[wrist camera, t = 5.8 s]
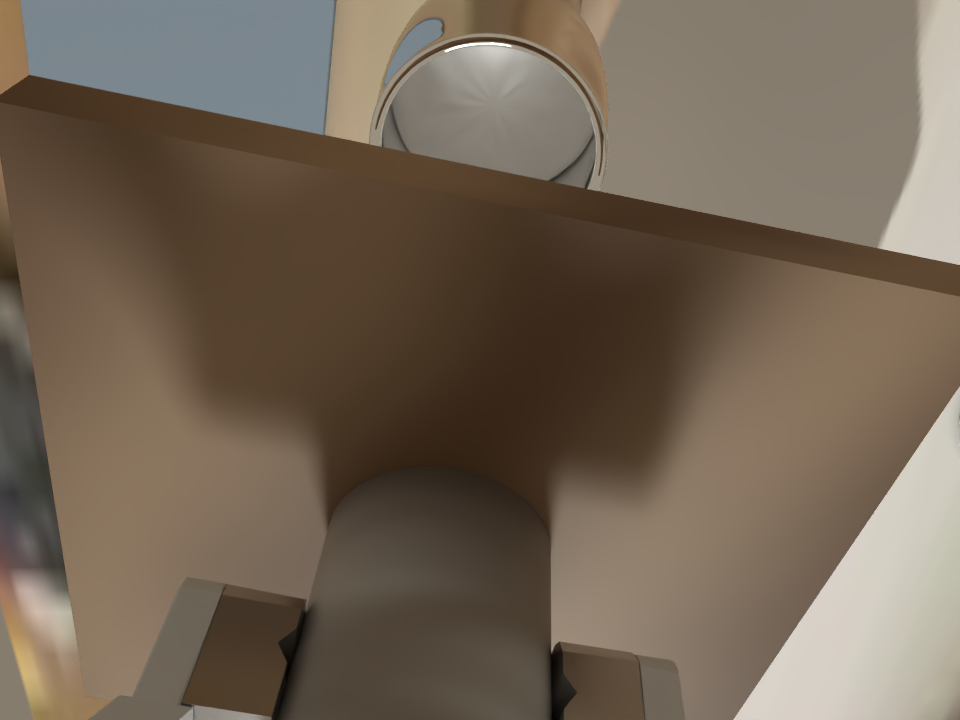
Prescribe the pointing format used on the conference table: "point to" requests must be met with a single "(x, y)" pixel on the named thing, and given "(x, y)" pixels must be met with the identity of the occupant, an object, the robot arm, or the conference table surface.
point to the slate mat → (192, 53)
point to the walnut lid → (446, 406)
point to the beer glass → (498, 90)
